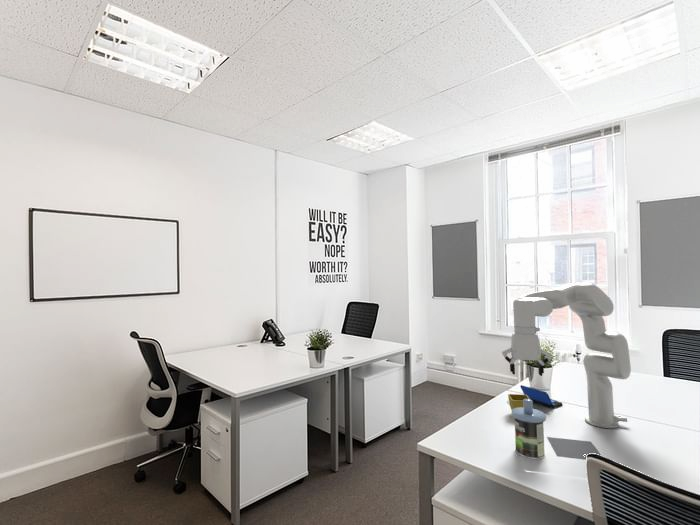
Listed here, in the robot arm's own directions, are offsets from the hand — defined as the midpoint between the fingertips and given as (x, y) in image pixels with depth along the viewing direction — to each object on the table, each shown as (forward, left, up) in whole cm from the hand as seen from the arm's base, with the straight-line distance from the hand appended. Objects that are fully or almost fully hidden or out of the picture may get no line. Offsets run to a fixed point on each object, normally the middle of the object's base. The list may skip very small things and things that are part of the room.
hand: (526, 374), depth 137 cm
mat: (-17, -7, -30) cm, 35 cm away
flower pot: (-2, -37, -31) cm, 48 cm away
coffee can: (0, 0, -31) cm, 31 cm away
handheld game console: (-15, -57, -31) cm, 67 cm away
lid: (0, 0, -16) cm, 16 cm away
